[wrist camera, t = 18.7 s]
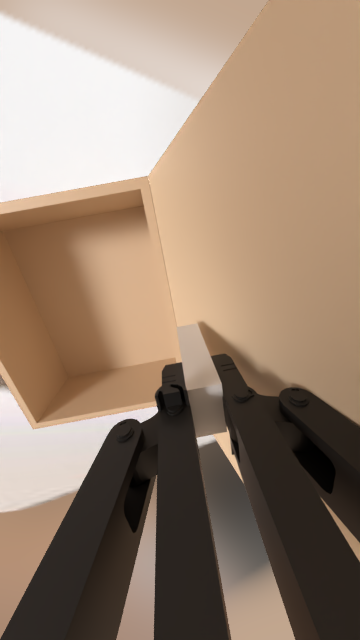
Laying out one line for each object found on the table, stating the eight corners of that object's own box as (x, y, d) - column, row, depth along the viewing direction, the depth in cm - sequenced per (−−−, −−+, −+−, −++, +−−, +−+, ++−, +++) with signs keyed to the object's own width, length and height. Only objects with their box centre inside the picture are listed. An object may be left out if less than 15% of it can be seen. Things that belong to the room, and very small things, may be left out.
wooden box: (-3, 226, 26) (-92, 219, 17) (153, 197, 27) (147, 176, 17) (67, 379, 35) (33, 429, 26) (183, 357, 35) (190, 399, 26)
